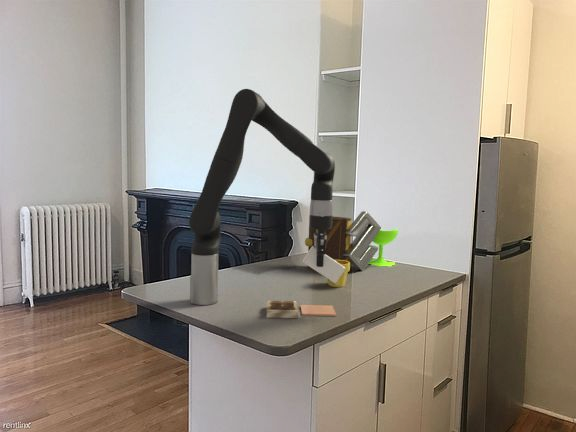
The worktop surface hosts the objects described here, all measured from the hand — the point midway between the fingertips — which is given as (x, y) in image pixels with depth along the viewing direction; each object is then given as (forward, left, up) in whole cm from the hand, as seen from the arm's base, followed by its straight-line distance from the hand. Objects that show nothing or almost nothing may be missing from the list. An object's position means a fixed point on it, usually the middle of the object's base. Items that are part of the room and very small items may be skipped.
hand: (319, 265), depth 162 cm
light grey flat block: (+7, 0, -3) cm, 8 cm away
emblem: (+26, +65, -16) cm, 72 cm away
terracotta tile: (0, 0, -16) cm, 16 cm away
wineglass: (+39, +81, -16) cm, 92 cm away
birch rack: (-12, -2, -16) cm, 20 cm away
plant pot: (+11, +36, -16) cm, 41 cm away
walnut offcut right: (-10, -4, -15) cm, 18 cm away
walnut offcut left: (-14, -4, -15) cm, 21 cm away
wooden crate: (+10, +65, -16) cm, 68 cm away
